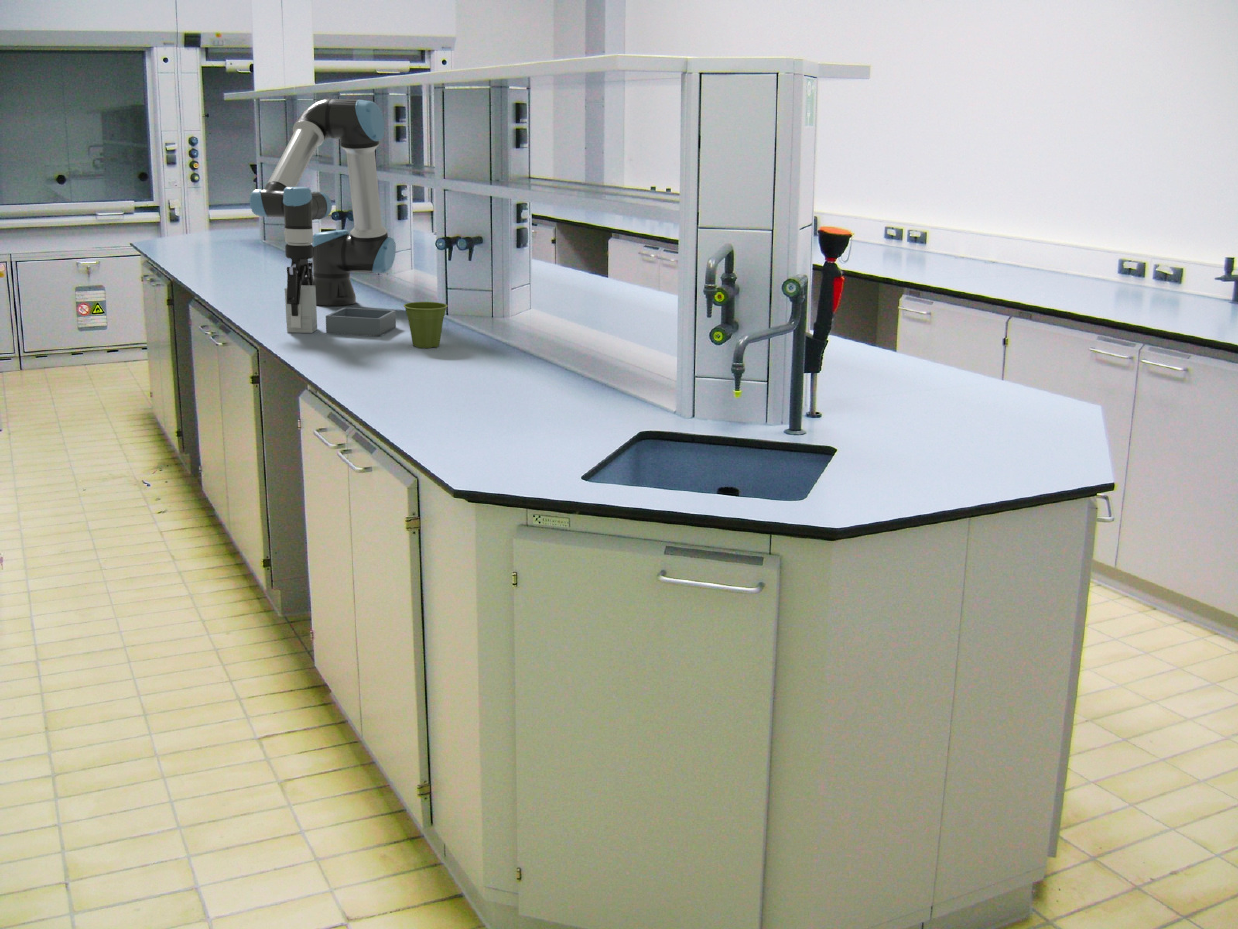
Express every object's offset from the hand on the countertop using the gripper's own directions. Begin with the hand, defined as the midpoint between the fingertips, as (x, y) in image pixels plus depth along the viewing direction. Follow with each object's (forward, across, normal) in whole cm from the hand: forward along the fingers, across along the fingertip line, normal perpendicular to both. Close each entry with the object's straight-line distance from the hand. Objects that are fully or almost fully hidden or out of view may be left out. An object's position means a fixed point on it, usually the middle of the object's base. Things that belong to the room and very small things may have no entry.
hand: (301, 324), depth 334 cm
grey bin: (+2, -6, +16) cm, 17 cm away
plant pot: (+2, +11, +39) cm, 41 cm away
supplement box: (+2, 0, 0) cm, 2 cm away
